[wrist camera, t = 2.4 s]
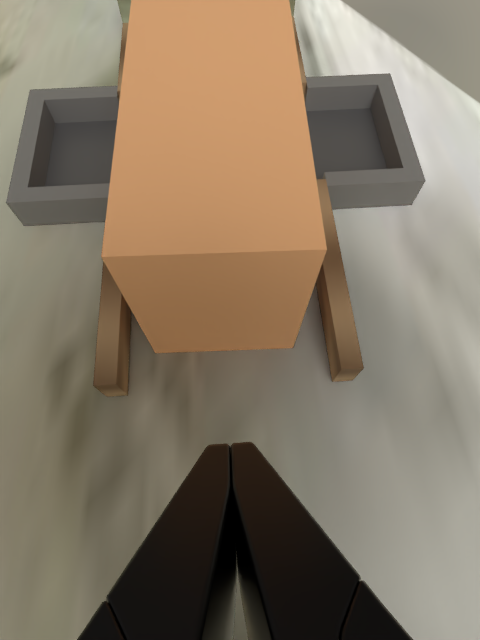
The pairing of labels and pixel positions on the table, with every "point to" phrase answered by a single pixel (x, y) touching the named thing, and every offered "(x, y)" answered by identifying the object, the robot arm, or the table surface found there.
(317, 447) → the table surface
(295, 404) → the table surface
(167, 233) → the orange tan rectangular block
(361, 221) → the table surface
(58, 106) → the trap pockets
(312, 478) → the table surface
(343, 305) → the small wooden bench
